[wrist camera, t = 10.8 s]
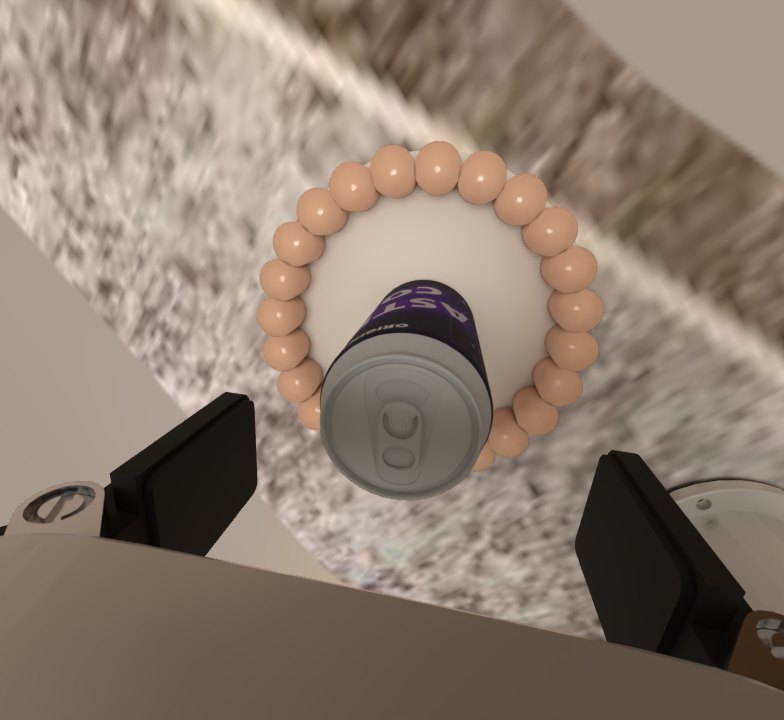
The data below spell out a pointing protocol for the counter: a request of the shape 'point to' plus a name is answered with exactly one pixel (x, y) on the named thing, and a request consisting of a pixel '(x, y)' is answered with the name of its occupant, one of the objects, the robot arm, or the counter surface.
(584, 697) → the robot arm
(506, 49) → the counter surface
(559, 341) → the round dish
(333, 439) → the beverage can
